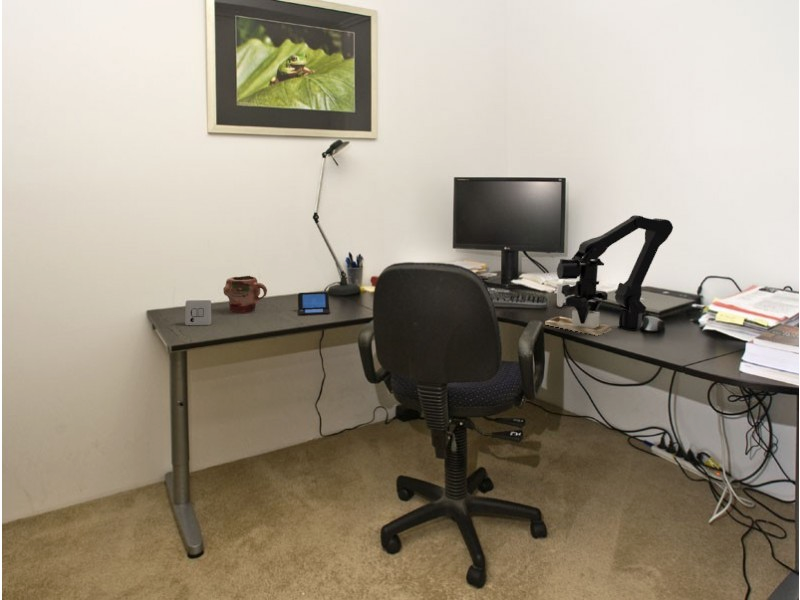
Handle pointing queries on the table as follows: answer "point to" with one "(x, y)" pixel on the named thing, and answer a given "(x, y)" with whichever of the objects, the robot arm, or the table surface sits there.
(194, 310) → the electrical switch
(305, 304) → the handheld game console
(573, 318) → the white rectangular block
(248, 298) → the reddish brown mug
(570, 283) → the cable organizer
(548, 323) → the board
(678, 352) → the table surface
